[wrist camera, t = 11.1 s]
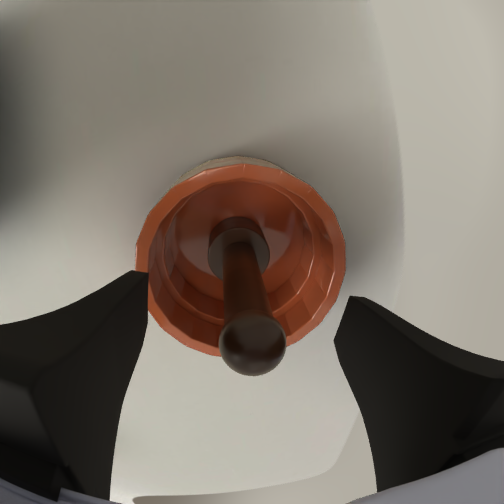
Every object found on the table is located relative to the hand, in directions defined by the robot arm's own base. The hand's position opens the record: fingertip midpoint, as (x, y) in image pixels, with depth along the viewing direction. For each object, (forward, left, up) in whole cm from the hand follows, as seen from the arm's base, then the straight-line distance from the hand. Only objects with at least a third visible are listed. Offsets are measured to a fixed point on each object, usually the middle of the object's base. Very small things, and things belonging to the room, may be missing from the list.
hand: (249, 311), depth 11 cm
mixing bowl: (0, 0, -7) cm, 7 cm away
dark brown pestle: (0, 0, -7) cm, 7 cm away
